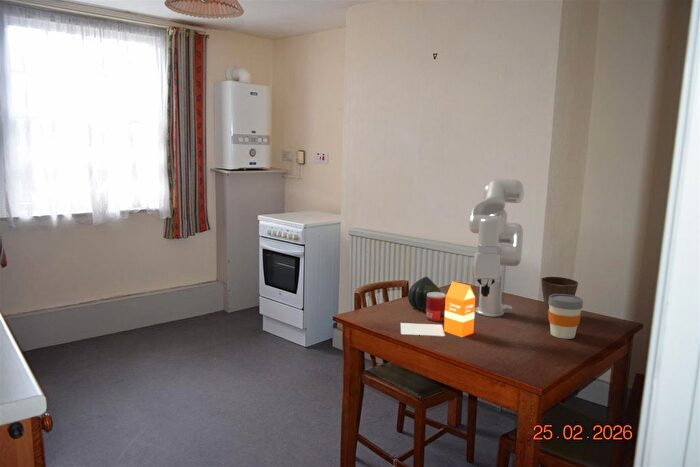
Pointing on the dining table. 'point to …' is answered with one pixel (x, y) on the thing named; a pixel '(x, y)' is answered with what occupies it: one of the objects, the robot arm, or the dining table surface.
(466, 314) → the orange juice
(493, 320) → the dining table surface
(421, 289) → the squash
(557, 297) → the reusable coffee cup
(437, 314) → the canned food
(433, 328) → the mat
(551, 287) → the plant pot
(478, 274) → the robot arm
